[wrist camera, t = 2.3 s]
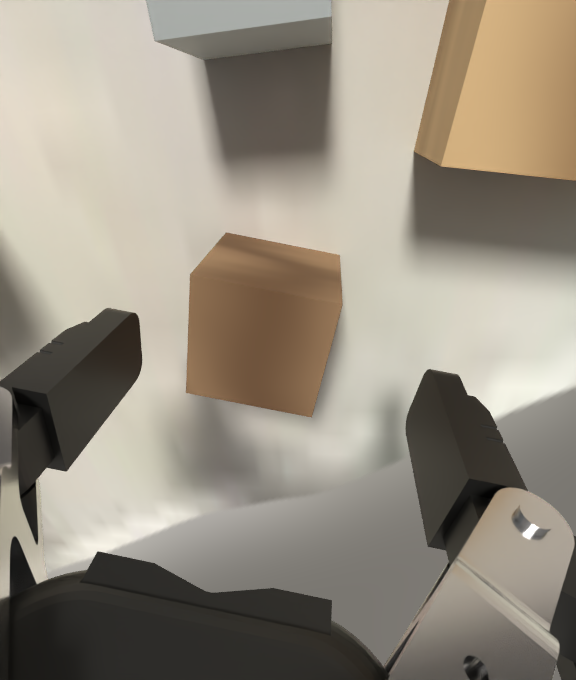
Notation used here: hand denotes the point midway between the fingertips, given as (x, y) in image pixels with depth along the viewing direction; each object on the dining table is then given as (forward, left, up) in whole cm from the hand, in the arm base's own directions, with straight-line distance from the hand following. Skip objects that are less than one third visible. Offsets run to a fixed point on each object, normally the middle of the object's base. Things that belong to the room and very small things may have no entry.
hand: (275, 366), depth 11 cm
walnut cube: (-1, -1, -6) cm, 6 cm away
